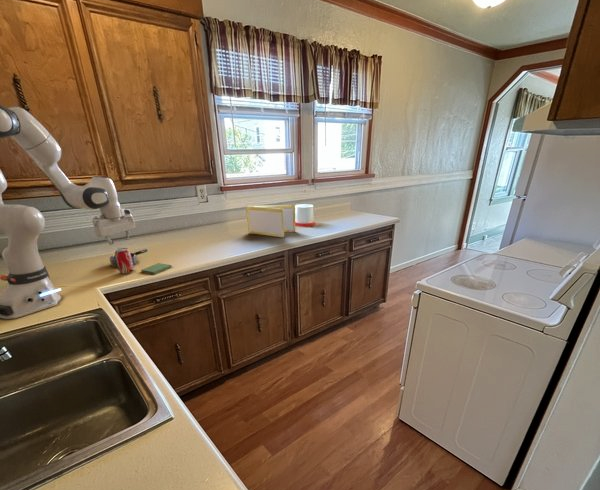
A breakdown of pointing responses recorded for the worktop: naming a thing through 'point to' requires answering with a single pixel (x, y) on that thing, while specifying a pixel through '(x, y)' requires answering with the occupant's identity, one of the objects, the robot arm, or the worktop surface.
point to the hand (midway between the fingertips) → (119, 241)
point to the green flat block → (156, 268)
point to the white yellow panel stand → (271, 219)
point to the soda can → (124, 260)
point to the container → (304, 215)
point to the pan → (114, 262)
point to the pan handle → (141, 252)
